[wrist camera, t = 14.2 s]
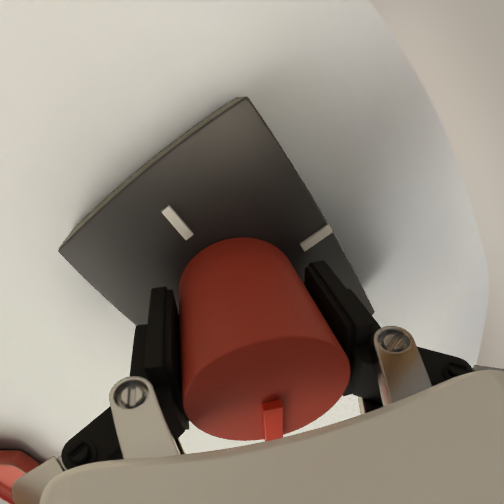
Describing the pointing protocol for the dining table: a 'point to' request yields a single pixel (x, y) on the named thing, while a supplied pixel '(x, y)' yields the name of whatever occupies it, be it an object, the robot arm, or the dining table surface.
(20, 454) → the plant saucer
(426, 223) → the dining table surface
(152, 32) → the dining table surface
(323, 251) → the dark square slab
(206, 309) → the red cylindrical knob
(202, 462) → the robot arm
